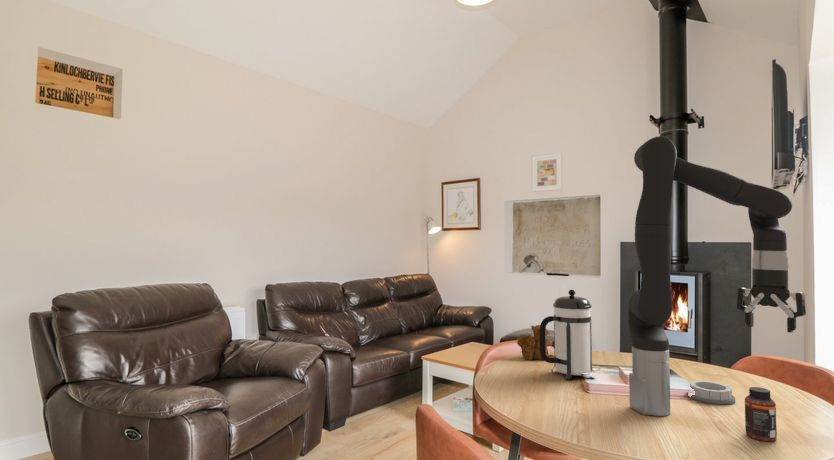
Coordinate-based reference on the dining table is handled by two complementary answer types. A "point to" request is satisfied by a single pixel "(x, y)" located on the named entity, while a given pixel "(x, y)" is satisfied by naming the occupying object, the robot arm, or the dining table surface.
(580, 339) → the coffee press
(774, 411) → the supplement bottle
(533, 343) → the stuffed squirrel
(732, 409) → the dining table surface
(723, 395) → the bottle socket
